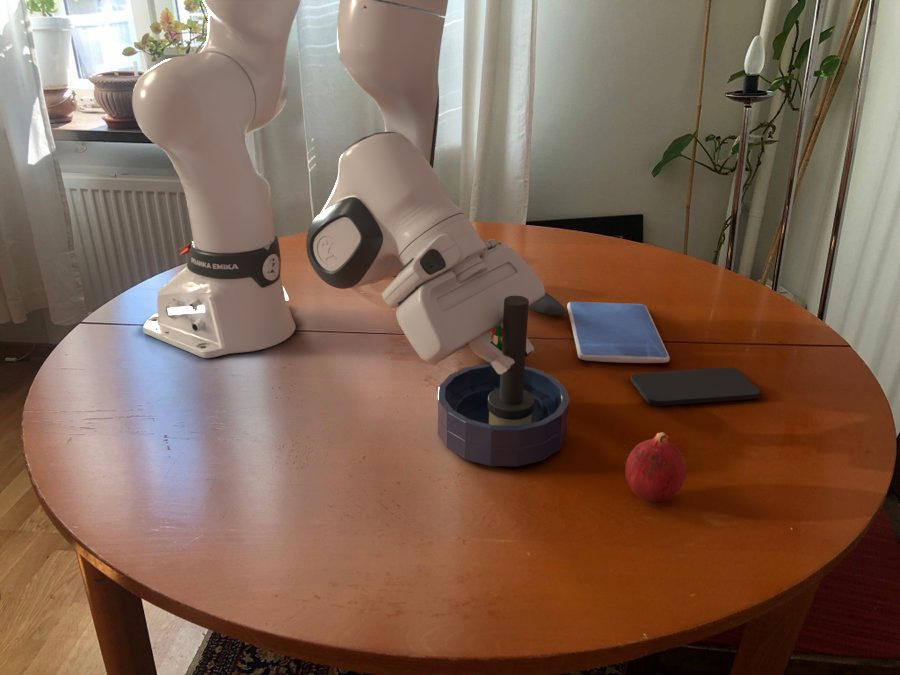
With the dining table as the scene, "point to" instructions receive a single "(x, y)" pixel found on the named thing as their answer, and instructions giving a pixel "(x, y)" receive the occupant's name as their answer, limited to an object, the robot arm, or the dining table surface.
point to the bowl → (499, 444)
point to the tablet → (616, 333)
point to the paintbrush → (548, 306)
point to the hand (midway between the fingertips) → (517, 363)
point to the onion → (655, 469)
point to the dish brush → (513, 369)
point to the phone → (694, 386)
